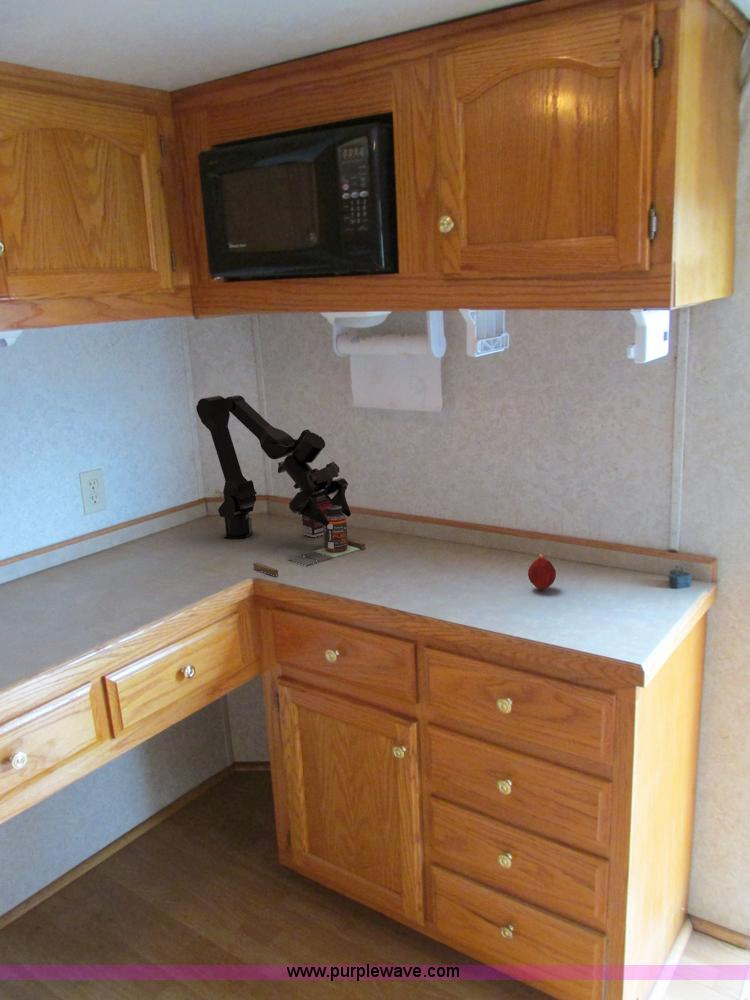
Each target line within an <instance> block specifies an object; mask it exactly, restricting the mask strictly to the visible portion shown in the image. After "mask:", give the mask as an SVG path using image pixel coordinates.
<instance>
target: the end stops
mask: <svg viewBox="0 0 750 1000" xmlns="http://www.w3.org/2000/svg"><path fill="white" fill-rule="evenodd" d="M347 545H349V546H352V547H356V548H359V549H360V550H361V551H364V550H366V543H364V542H360V541H357V540H353V539H349V538H347ZM252 565H253V570H255V569H257V570H259V571H258V572H260V571H263V572H266V573H269V574H272V575H274V576H276V575H278V576H279V569H276V568H274V567H272V566H269V565H265V564H262V563H260V562H254V563H252ZM257 570H256V571H257ZM263 572H262V573H263Z"/></svg>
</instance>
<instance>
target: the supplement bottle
mask: <svg viewBox="0 0 750 1000" xmlns="http://www.w3.org/2000/svg"><path fill="white" fill-rule="evenodd" d="M326 512H327V514H326V515H325V516H326V518H327V520H328V521H329V525H327V526H326V525H324V524H323V527H324V535H323V543H324V544H323V545H324V548H325V550H326V551H329V552H341V551H344V550H346V549H347V539H348V529H347V527H348V526H347V516H346V515H345V514H343V513H342V507H341V506H338V505H333V506H328V507H327V508H326Z"/></svg>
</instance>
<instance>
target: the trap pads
mask: <svg viewBox="0 0 750 1000" xmlns="http://www.w3.org/2000/svg"><path fill="white" fill-rule="evenodd" d="M303 556H305V557H303ZM287 559H289V560H291V561H290V562H292V561H294V562H293V563H295V562H297V563H296V564H298V563H300V564H299V565H301V564H303V565H302V566H304V565H306V566H305V567H309V566H312V565H311V564H313V563H316V564H318V563H317V562H319V563H322V562H325V561H324V560H326V561H328V559H329V560H332V559H333V558H332V557H329V556H326V555H323V554H320V553H317V552H314V551H309V552H306V553H303V554H299V555H295V556H292V557H290V558H287ZM289 560H288V561H289ZM316 560H317V561H316ZM321 561H322V562H321ZM308 565H309V566H308ZM313 565H314V564H313Z"/></svg>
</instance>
